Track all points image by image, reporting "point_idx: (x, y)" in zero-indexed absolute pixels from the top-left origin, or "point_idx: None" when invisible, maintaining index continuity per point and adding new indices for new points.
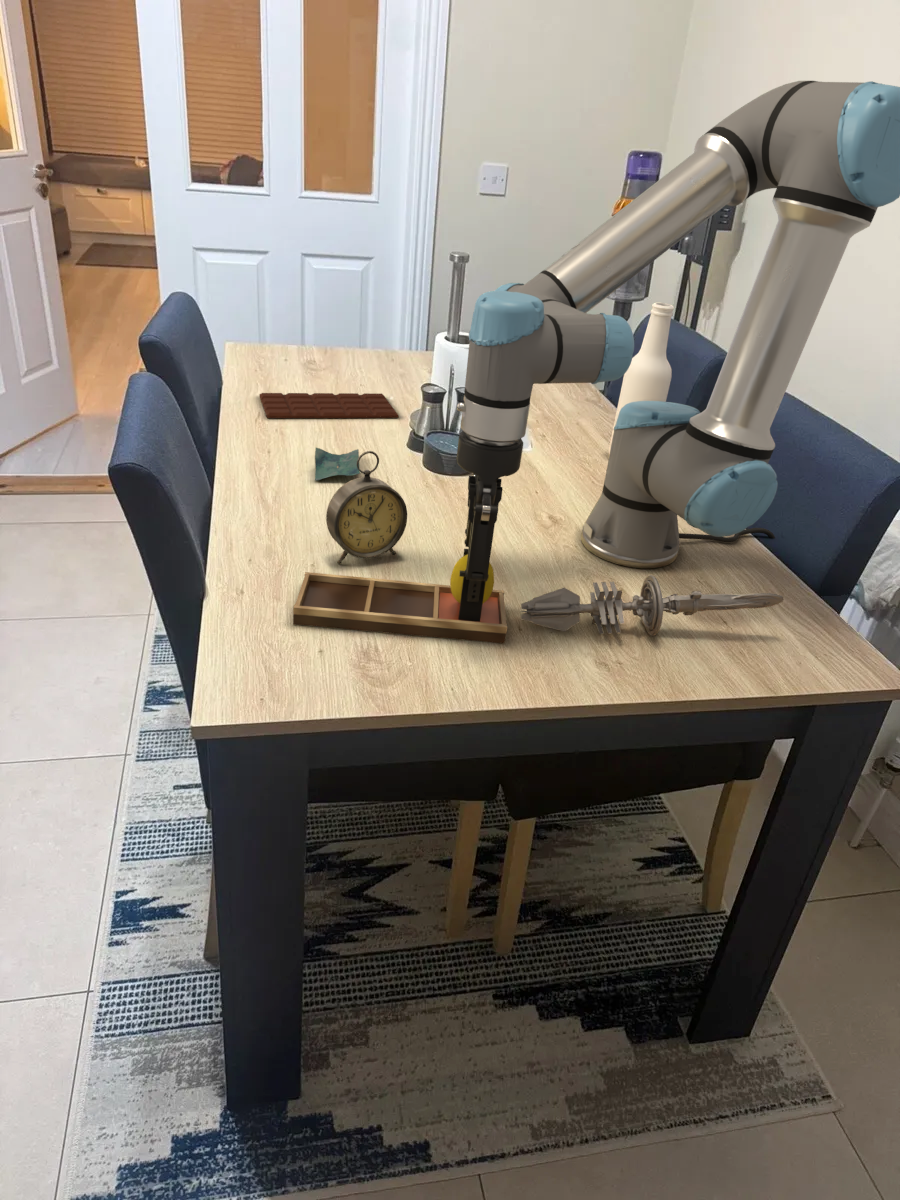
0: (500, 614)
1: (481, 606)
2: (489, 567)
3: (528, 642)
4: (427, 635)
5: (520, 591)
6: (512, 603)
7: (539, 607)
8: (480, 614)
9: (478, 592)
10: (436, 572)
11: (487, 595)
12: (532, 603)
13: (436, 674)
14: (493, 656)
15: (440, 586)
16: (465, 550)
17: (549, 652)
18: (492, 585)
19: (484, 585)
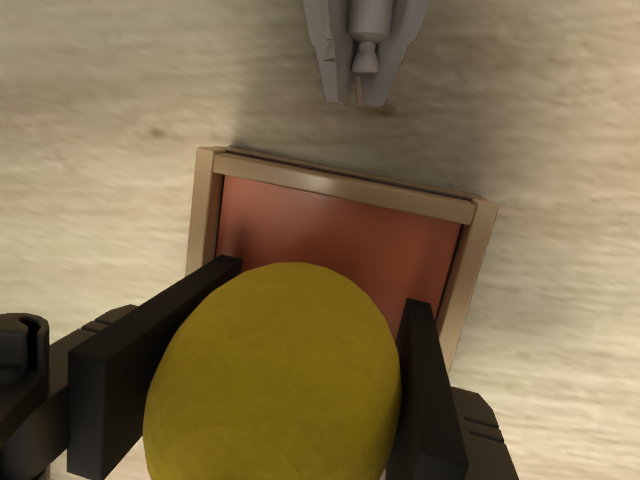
0: (378, 205)
1: (438, 339)
2: (307, 387)
3: (479, 97)
4: None
5: (119, 45)
6: (205, 98)
7: (391, 11)
8: (433, 319)
9: (501, 447)
10: (45, 314)
11: (377, 309)
12: (344, 42)
13: (630, 457)
14: (556, 256)
15: None
16: (90, 471)
17: (565, 20)
18: (350, 301)
19: (455, 416)
